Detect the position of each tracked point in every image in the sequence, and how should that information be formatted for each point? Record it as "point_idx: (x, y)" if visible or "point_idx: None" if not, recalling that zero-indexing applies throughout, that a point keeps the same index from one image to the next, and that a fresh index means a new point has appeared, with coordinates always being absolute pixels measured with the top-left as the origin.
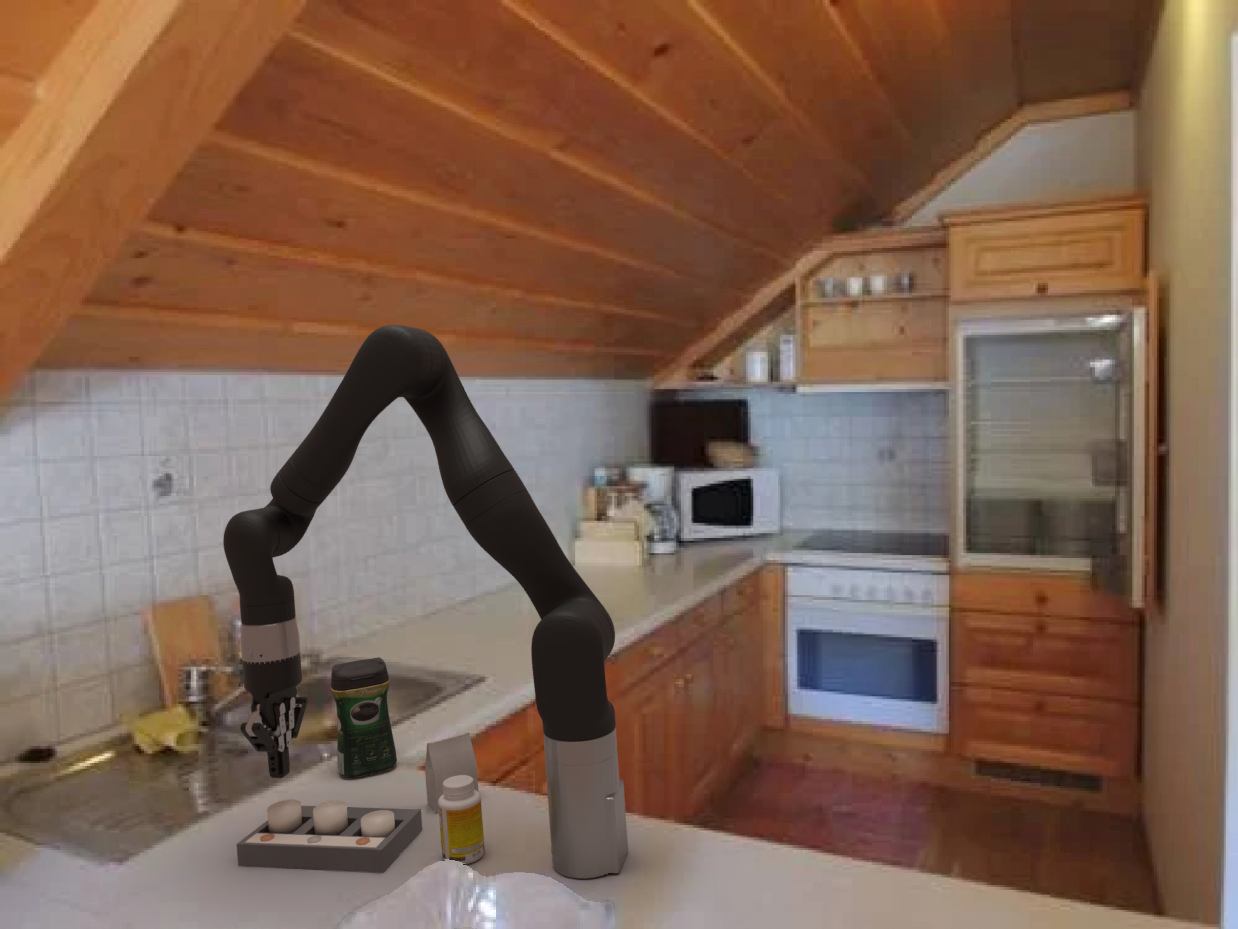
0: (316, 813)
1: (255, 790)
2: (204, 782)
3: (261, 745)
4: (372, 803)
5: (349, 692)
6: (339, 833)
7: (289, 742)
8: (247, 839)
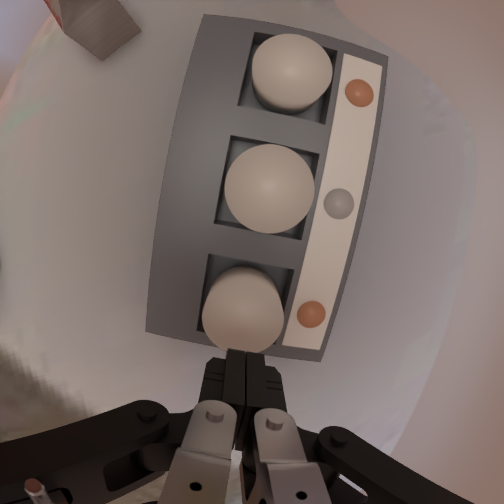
0: (304, 214)
1: (50, 396)
2: None
3: (335, 480)
4: (72, 177)
5: None
6: None
7: (219, 413)
8: (305, 351)
